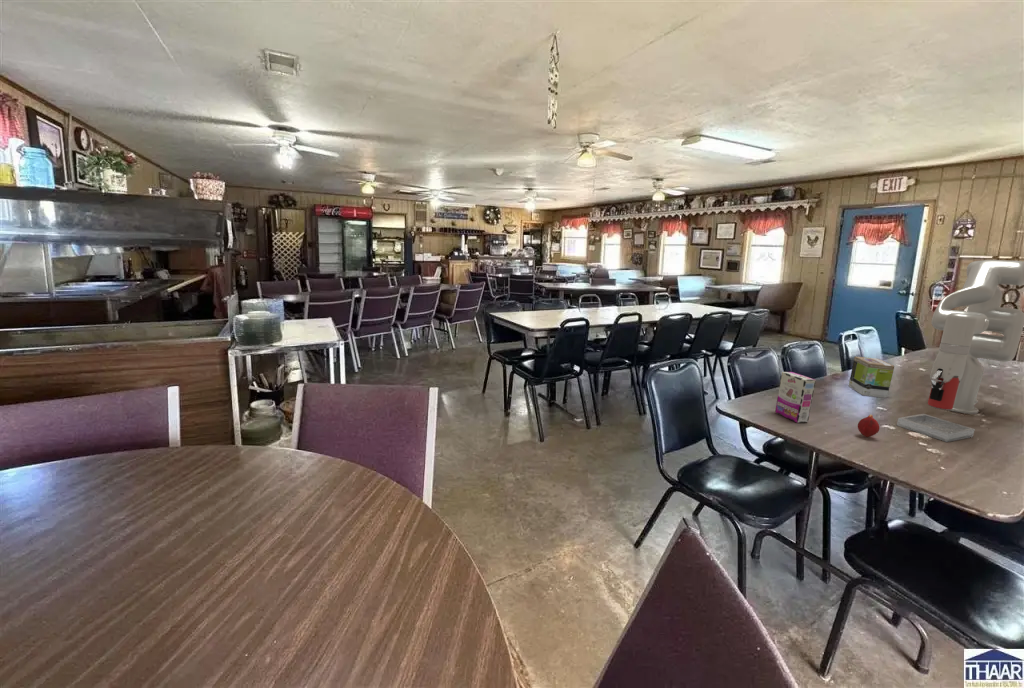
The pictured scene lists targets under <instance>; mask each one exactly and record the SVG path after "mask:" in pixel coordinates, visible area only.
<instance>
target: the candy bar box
mask: <svg viewBox="0 0 1024 688" xmlns="http://www.w3.org/2000/svg"><path fill="white" fill-rule="evenodd" d="M779 381H780V382H779V386H778V393H777V399H776V405H775V411H774V413H775V412H776V413H775V414H777V413H778V414H777V415H779V414H780V416H781V415H782V417H784V418H785V419H788V420H791V421H792V422H794V423H797V424H805V423H804V422H807V423H809V418H810V413H811V407H812V404H813V403H812V401H813V397H814V391H815V387H816V383H817V380H816V379H814V378H811V377H809V376H806V375H802V374H800V373H796V372H793V371H782V372H781V375H780V380H779Z"/></svg>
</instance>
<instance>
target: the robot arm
mask: <svg viewBox="0 0 1024 688" xmlns="http://www.w3.org/2000/svg"><path fill="white" fill-rule="evenodd" d="M999 285H1008V286H1009V285H1010V286H1019V287H1021V286H1024V260H1023V261H1022V260H1004V259H1001V260H1000V259H984V260H974V261H972V262H970V263H968V265H967V267H966V280H965V281H964V284H963V287H962V288H960V289H959V290H956V291H954V292H952V293H949V294H947V295H946V296H945V297H943V298H942V299H941V300H940V301H939V302H938V303H937V306H936V308H935V310H934V312H933V315H932V318H931V325H932V327H933V328H934V329H936V330H938V331H942V335H941V339H940V343H939V347H938V353H937V355H936V356H935V360H934V362H933V364H932V368H931V372H930V375H929V379H930V381H931V387H932V390H931V389H930V392H931V394H930V393H929V396H930V399H933V400H937V401H941V400H942V396H943V392H944V390H942V389H943V388H944V386H945V384H946V383H947V382H950V380H951V379H952V378H953V377H957V376H959V377H958V378H959V386H958V389H957V393H956V397H955V401H954V405H953V408H952V409H951V410H950V411H951V412H955V413H962V414H970V415H974V414H978V413H979V408H977V407H975V405H976V404H979V400H978V399H977V398H978V393H979V389H980V386H981V382H982V379H983V375H984V367H983V365H982V363H981V362H980V361H979V359H984V360H989V361H996V362H997V361H998V362H1011V361H1012V360H1013V359H1014V358H1015V357H1016V354H1017V352H1018V348H1019V345H1020V341H1021V337H1022V334H1023V330H1024V312H1023V311H1022V310H1021V309H1017V308H1012V307H1011V308H1010V307H1003V306H1002V307H1001V302H1002V298H1003V292H1002V290H1001V288H999ZM964 306H966V307H967V306H968V307H967V310H955V308H960V307H964ZM983 332H994V333H1000V334H1002V335H1003V336H1002V335H995V334H994V335H993V334H986V333H983ZM939 378H941V379H943V381H942V380H938V379H939ZM939 382H941V383H942V384H941V385H940V383H939ZM931 387H930V388H931Z"/></svg>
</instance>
